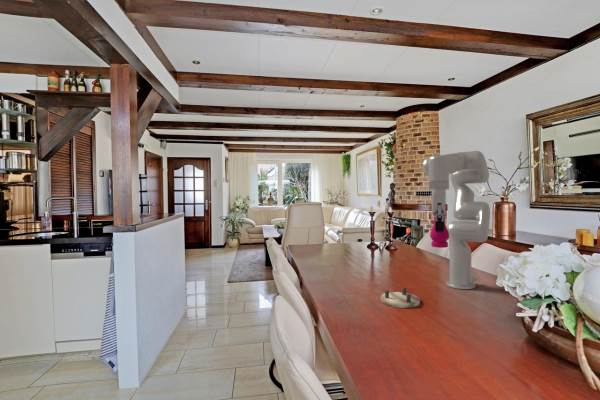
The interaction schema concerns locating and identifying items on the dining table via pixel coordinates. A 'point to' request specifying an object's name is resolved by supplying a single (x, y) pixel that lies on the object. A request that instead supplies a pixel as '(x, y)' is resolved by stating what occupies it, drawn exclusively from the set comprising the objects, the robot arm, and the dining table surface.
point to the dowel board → (400, 299)
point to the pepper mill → (439, 233)
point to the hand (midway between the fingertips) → (439, 229)
